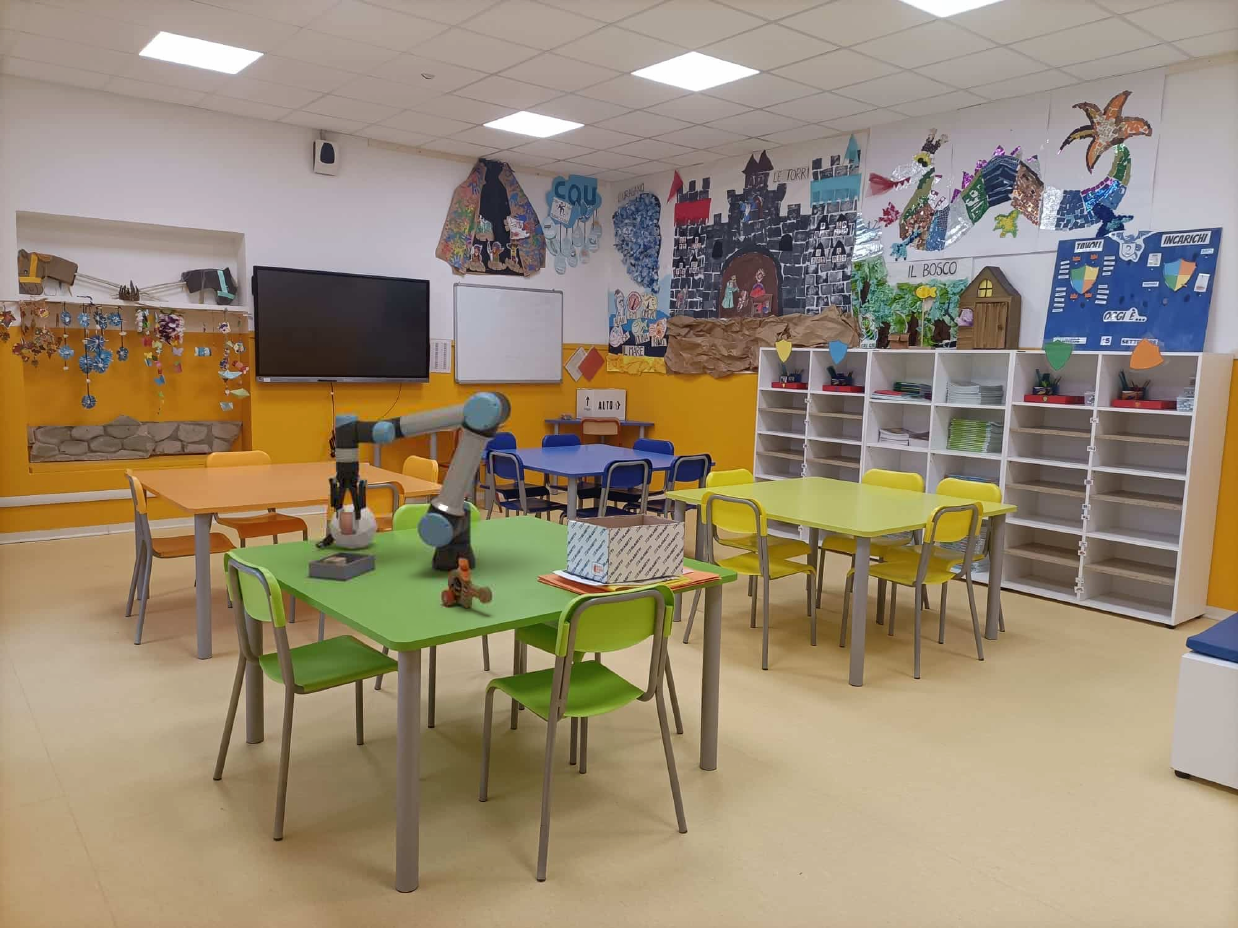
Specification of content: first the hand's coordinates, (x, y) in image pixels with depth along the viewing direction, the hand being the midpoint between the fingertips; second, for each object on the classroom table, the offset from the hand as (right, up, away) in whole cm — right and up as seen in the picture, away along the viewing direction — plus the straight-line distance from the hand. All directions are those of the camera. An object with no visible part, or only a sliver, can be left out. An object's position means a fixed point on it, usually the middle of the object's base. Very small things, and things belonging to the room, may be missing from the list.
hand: (348, 528), depth 294 cm
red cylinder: (0, -2, 0) cm, 2 cm away
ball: (-12, -10, +37) cm, 40 cm away
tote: (-1, -15, -2) cm, 15 cm away
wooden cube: (-3, -15, -6) cm, 16 cm away
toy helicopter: (+47, -20, -40) cm, 65 cm away
